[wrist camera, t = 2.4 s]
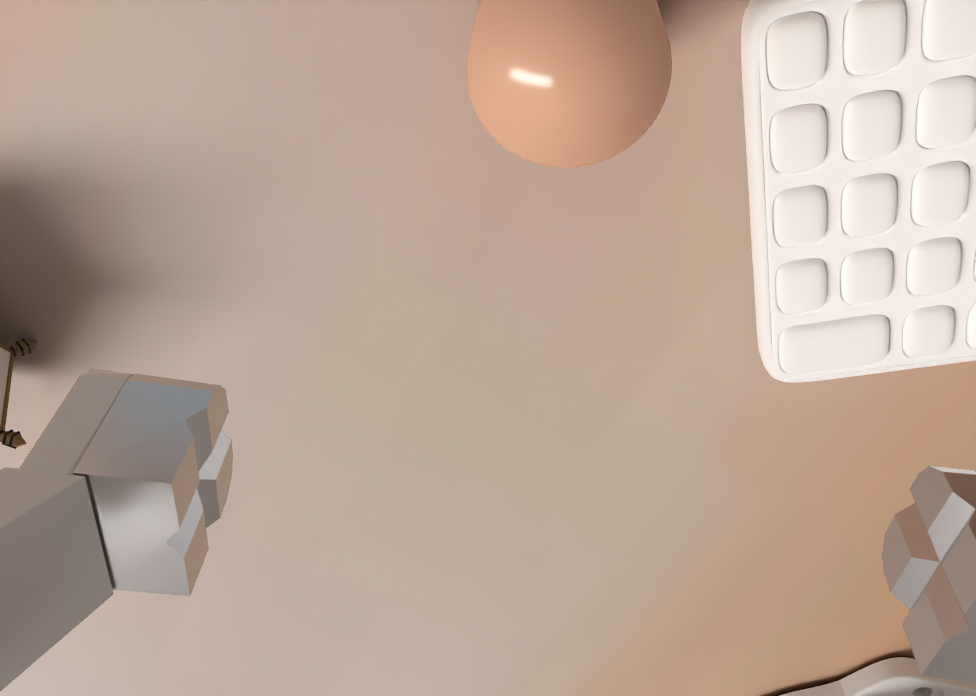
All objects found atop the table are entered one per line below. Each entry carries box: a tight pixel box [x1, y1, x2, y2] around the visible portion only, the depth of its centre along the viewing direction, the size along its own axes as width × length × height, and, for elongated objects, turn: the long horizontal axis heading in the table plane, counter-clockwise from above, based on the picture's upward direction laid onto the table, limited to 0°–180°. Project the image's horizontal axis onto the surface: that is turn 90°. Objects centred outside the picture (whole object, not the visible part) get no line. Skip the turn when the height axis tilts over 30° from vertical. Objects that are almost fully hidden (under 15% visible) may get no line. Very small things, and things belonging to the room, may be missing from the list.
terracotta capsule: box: [467, 0, 672, 168], centre depth 22 cm, size 5×5×5 cm
